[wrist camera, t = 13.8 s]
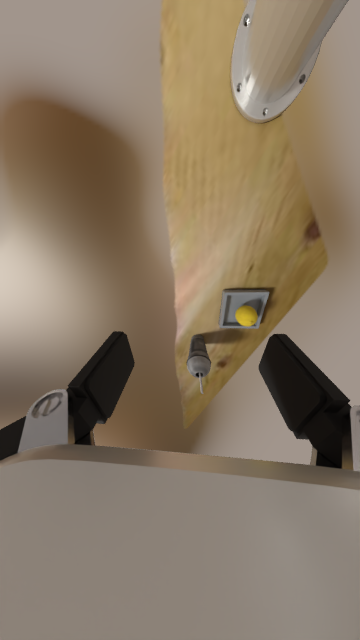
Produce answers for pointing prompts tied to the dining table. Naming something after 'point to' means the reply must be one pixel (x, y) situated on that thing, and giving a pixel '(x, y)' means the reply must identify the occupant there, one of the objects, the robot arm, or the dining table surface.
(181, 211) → the dining table surface
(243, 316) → the lemon
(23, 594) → the robot arm
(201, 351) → the beverage cup
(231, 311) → the tray
